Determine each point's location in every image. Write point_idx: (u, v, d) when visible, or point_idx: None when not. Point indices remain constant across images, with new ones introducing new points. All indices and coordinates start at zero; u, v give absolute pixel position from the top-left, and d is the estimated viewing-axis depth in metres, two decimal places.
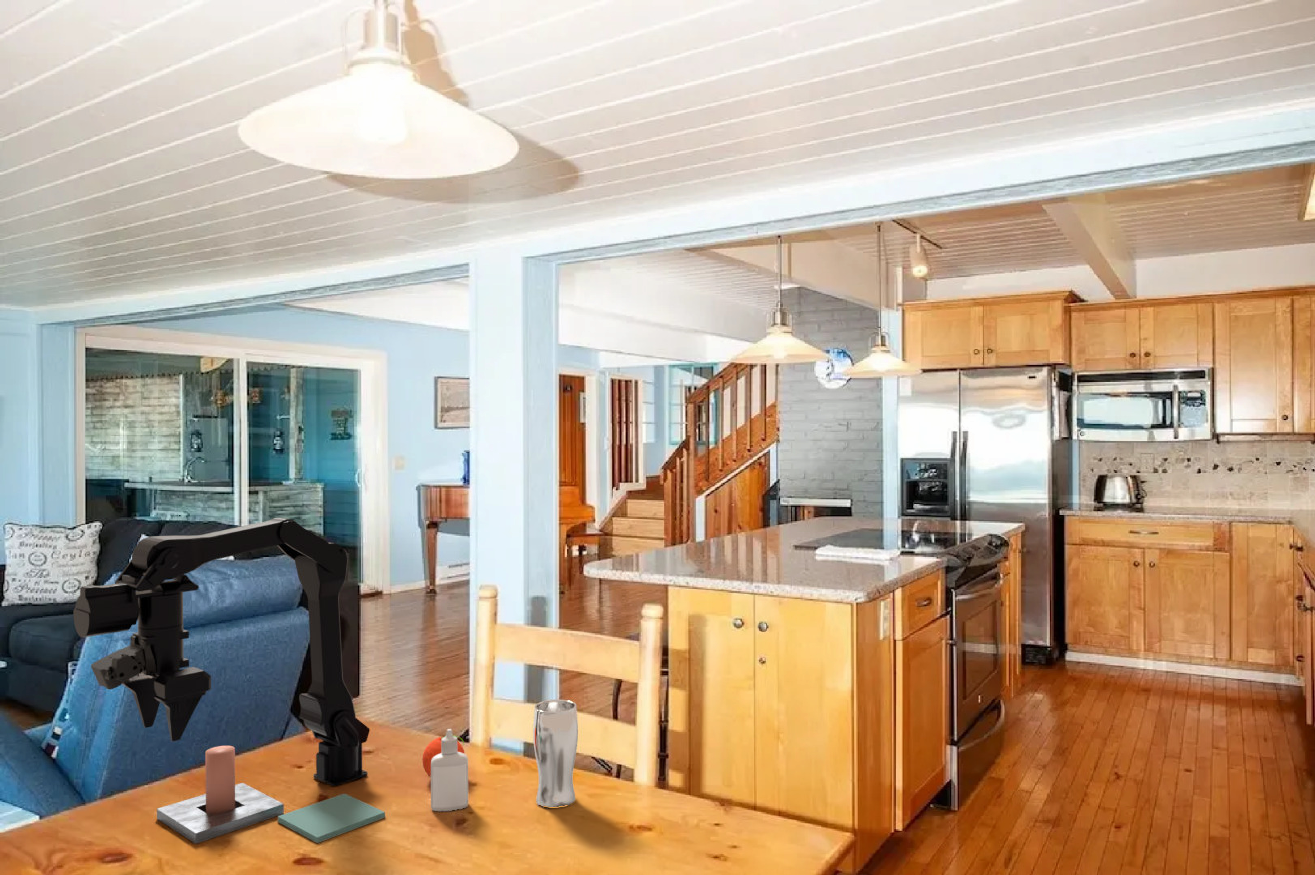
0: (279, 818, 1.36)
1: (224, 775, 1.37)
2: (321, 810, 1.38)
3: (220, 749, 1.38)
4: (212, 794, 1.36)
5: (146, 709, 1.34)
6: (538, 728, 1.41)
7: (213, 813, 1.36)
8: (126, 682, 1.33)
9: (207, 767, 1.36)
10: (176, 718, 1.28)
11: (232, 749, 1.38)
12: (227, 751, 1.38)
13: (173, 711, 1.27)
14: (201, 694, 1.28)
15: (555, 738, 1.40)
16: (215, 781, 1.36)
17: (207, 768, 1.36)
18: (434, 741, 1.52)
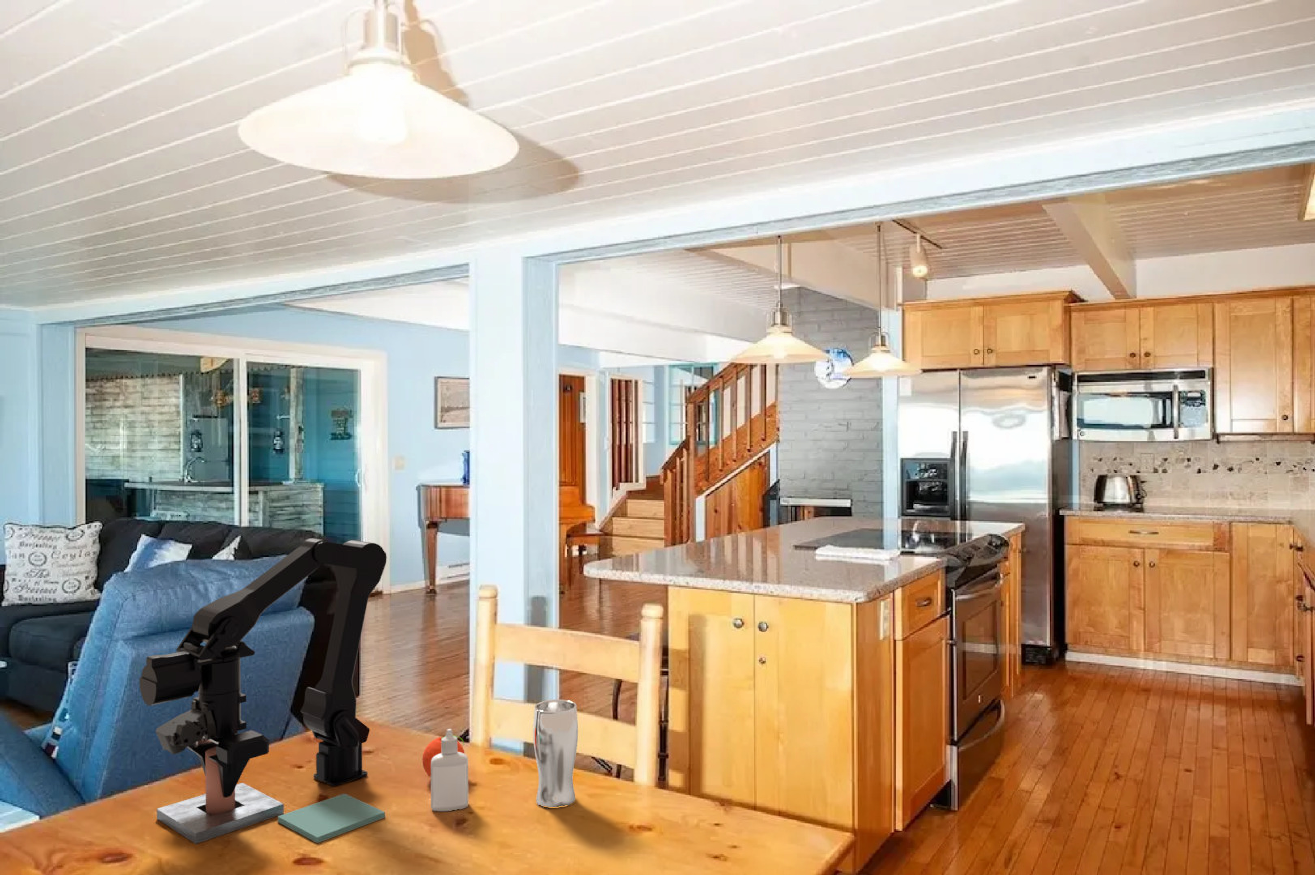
0: (279, 818, 1.36)
1: None
2: (321, 810, 1.38)
3: None
4: (211, 794, 1.36)
5: None
6: (538, 728, 1.41)
7: (213, 813, 1.36)
8: (193, 747, 1.38)
9: (207, 767, 1.36)
10: (228, 776, 1.36)
11: None
12: None
13: (225, 770, 1.35)
14: None
15: (555, 738, 1.40)
16: (215, 781, 1.36)
17: (207, 768, 1.36)
18: (434, 741, 1.52)
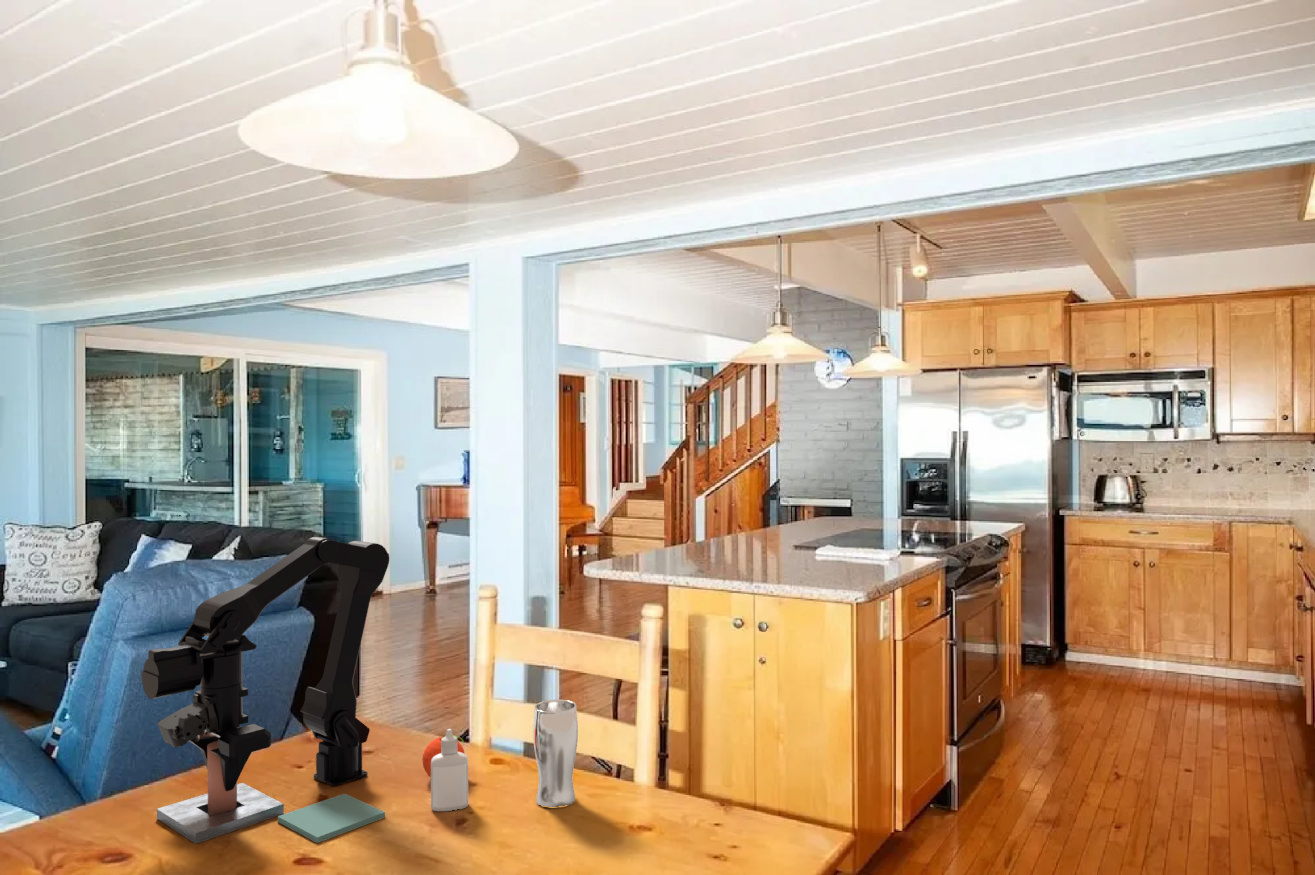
0: (279, 818, 1.36)
1: None
2: (321, 810, 1.38)
3: None
4: (213, 787, 1.36)
5: None
6: (538, 728, 1.41)
7: (215, 806, 1.36)
8: (195, 740, 1.38)
9: (209, 761, 1.37)
10: (230, 769, 1.36)
11: None
12: None
13: (227, 763, 1.35)
14: None
15: (555, 738, 1.40)
16: (217, 775, 1.36)
17: (209, 762, 1.37)
18: (434, 741, 1.52)
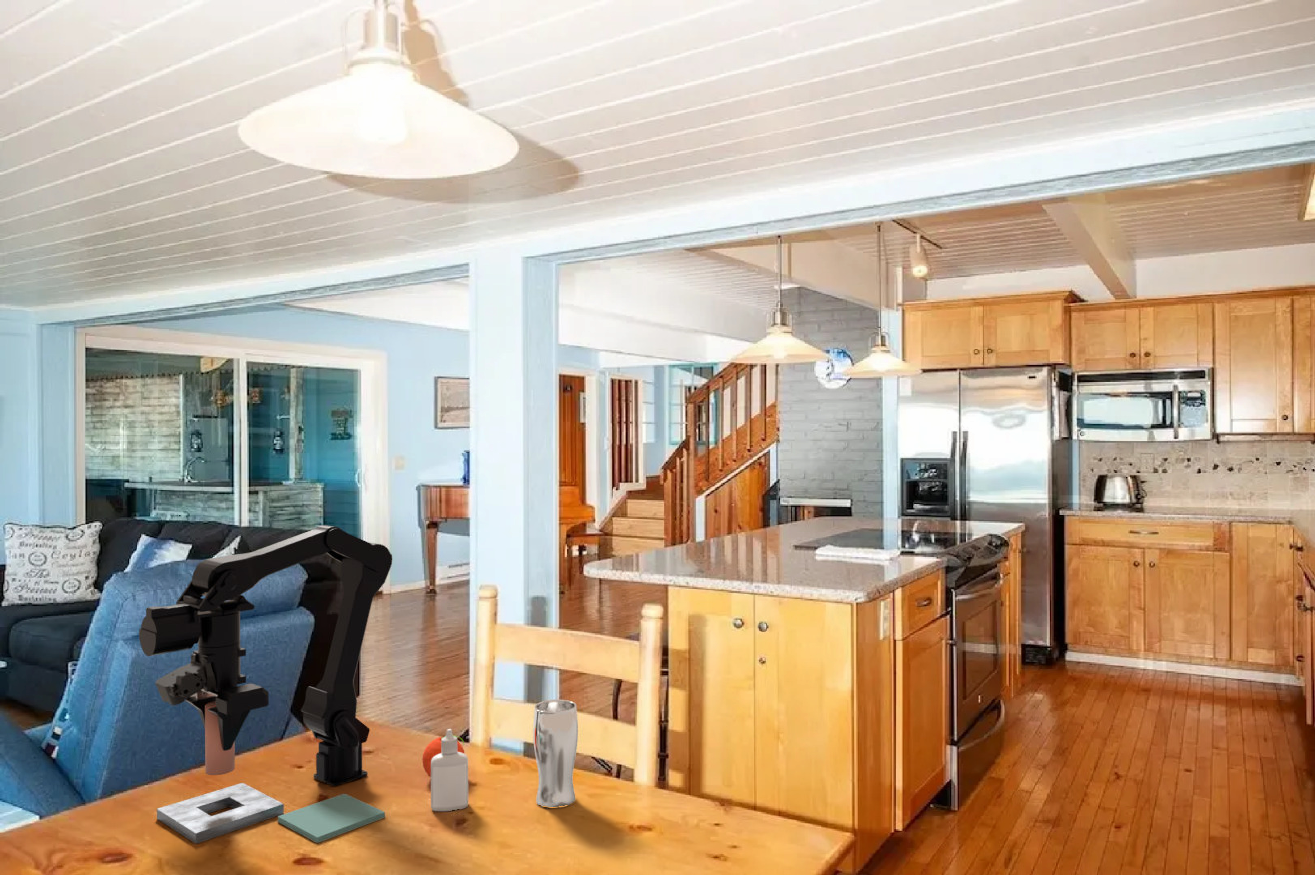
0: (279, 818, 1.36)
1: None
2: (321, 810, 1.38)
3: None
4: (211, 747, 1.36)
5: None
6: (538, 728, 1.41)
7: (213, 766, 1.36)
8: (193, 700, 1.38)
9: (207, 720, 1.36)
10: (228, 729, 1.36)
11: None
12: None
13: (225, 722, 1.35)
14: None
15: (555, 738, 1.40)
16: (214, 734, 1.36)
17: (207, 721, 1.36)
18: (434, 741, 1.52)
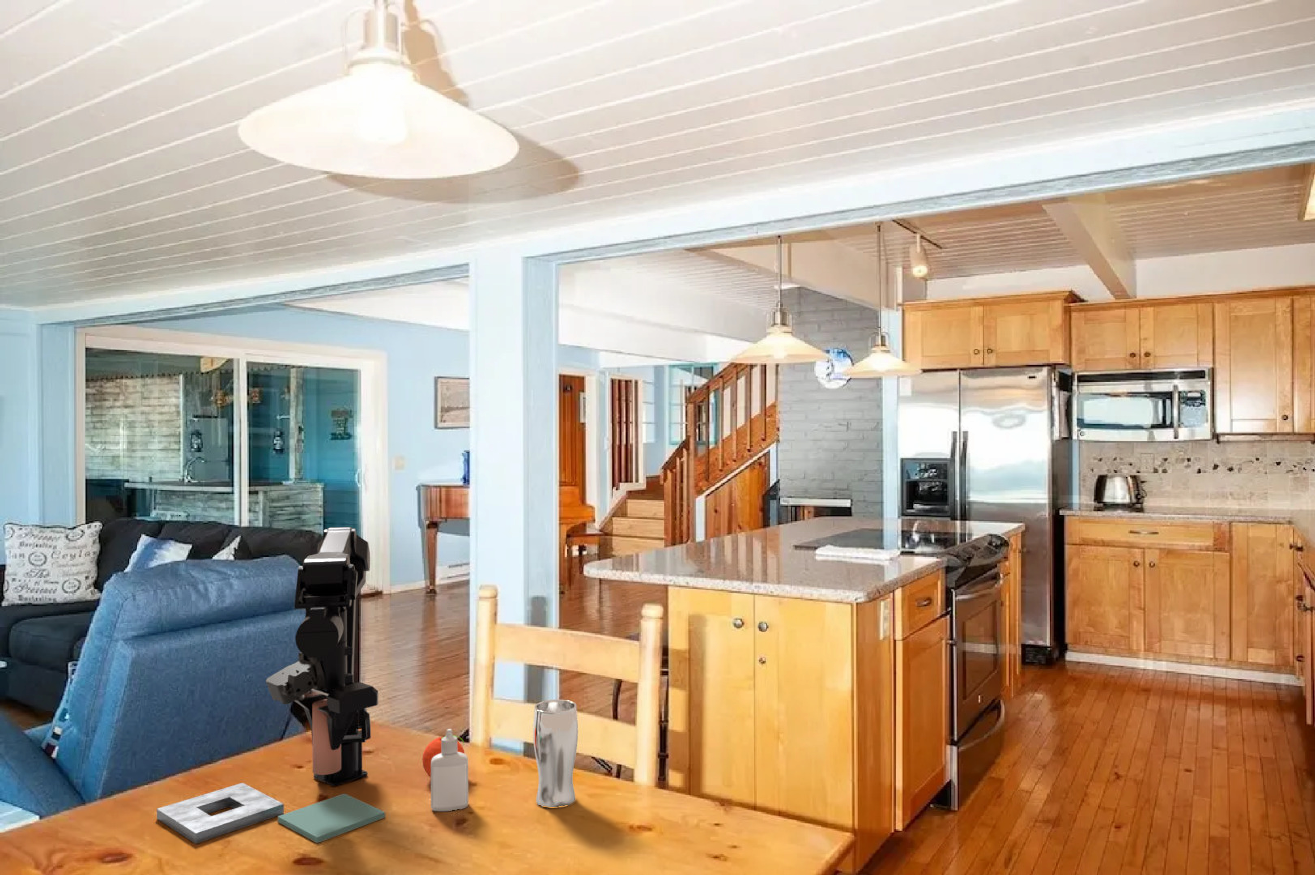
0: (279, 818, 1.36)
1: None
2: (321, 810, 1.38)
3: None
4: (319, 746, 1.35)
5: None
6: (538, 728, 1.41)
7: (321, 765, 1.35)
8: (300, 699, 1.37)
9: (314, 719, 1.35)
10: (336, 728, 1.34)
11: None
12: None
13: (334, 721, 1.34)
14: None
15: (555, 738, 1.40)
16: (322, 733, 1.35)
17: (314, 720, 1.35)
18: (434, 741, 1.52)
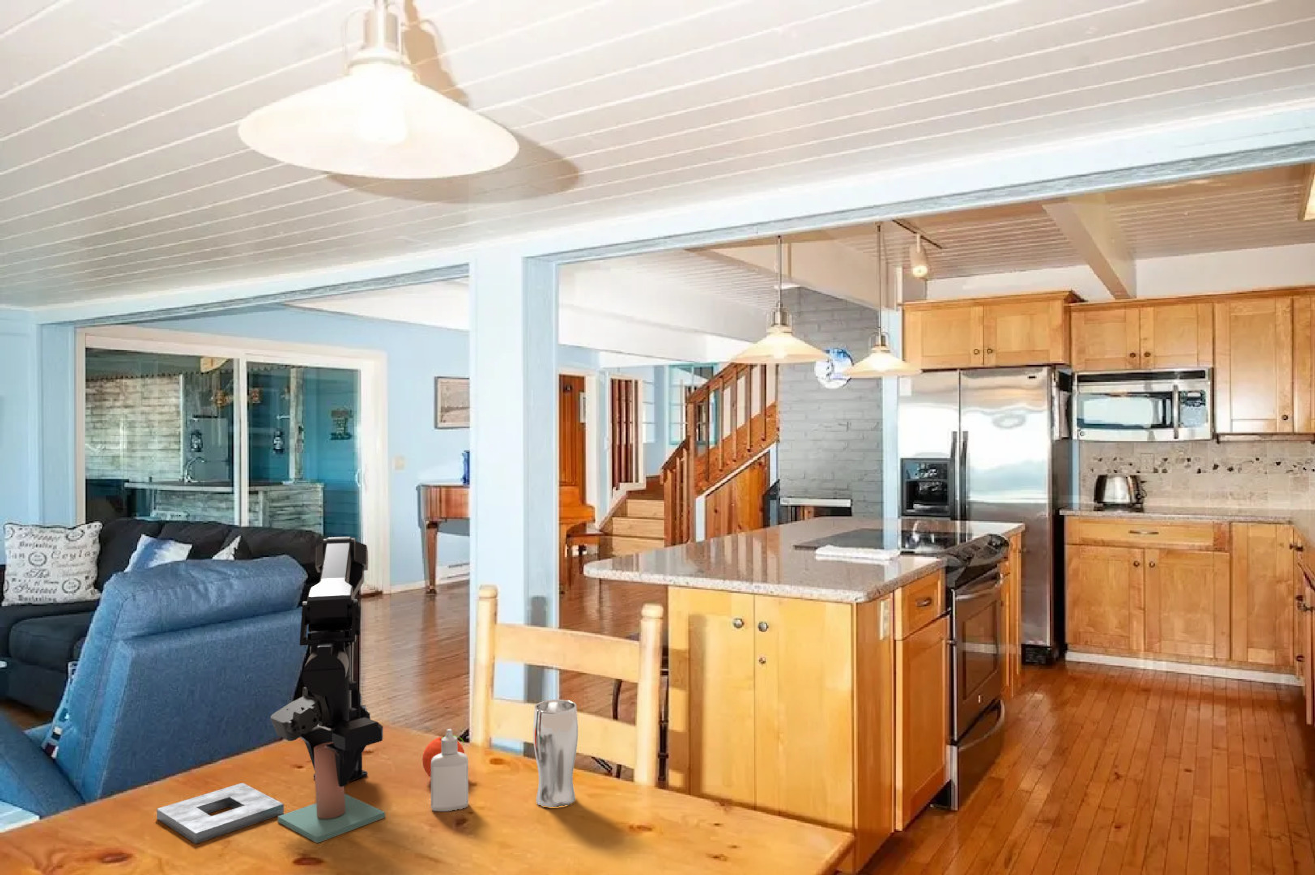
0: (279, 818, 1.36)
1: (334, 770, 1.35)
2: None
3: None
4: (322, 790, 1.35)
5: None
6: (538, 728, 1.41)
7: (325, 809, 1.35)
8: None
9: (317, 763, 1.35)
10: (344, 765, 1.34)
11: None
12: None
13: (342, 758, 1.33)
14: None
15: (555, 738, 1.40)
16: (325, 777, 1.35)
17: (317, 764, 1.35)
18: (434, 741, 1.52)
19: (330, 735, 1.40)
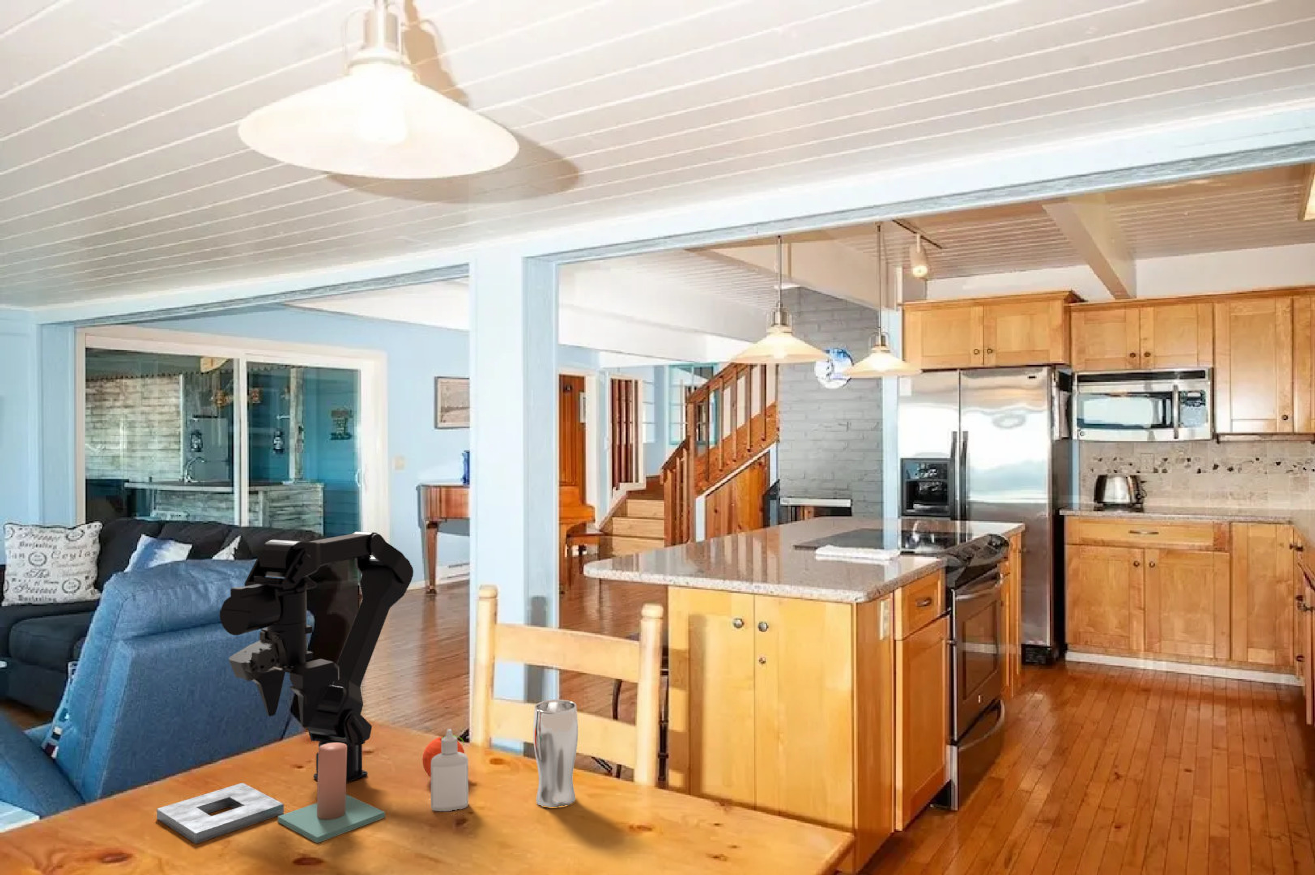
0: (279, 818, 1.36)
1: (337, 772, 1.35)
2: None
3: (333, 746, 1.37)
4: (325, 791, 1.35)
5: (269, 699, 1.45)
6: (538, 728, 1.41)
7: (326, 810, 1.35)
8: None
9: (321, 764, 1.35)
10: (307, 706, 1.39)
11: (344, 746, 1.37)
12: (340, 748, 1.36)
13: (305, 700, 1.38)
14: (330, 683, 1.39)
15: (555, 738, 1.40)
16: (328, 778, 1.35)
17: (320, 765, 1.35)
18: (434, 741, 1.52)
19: (281, 677, 1.47)
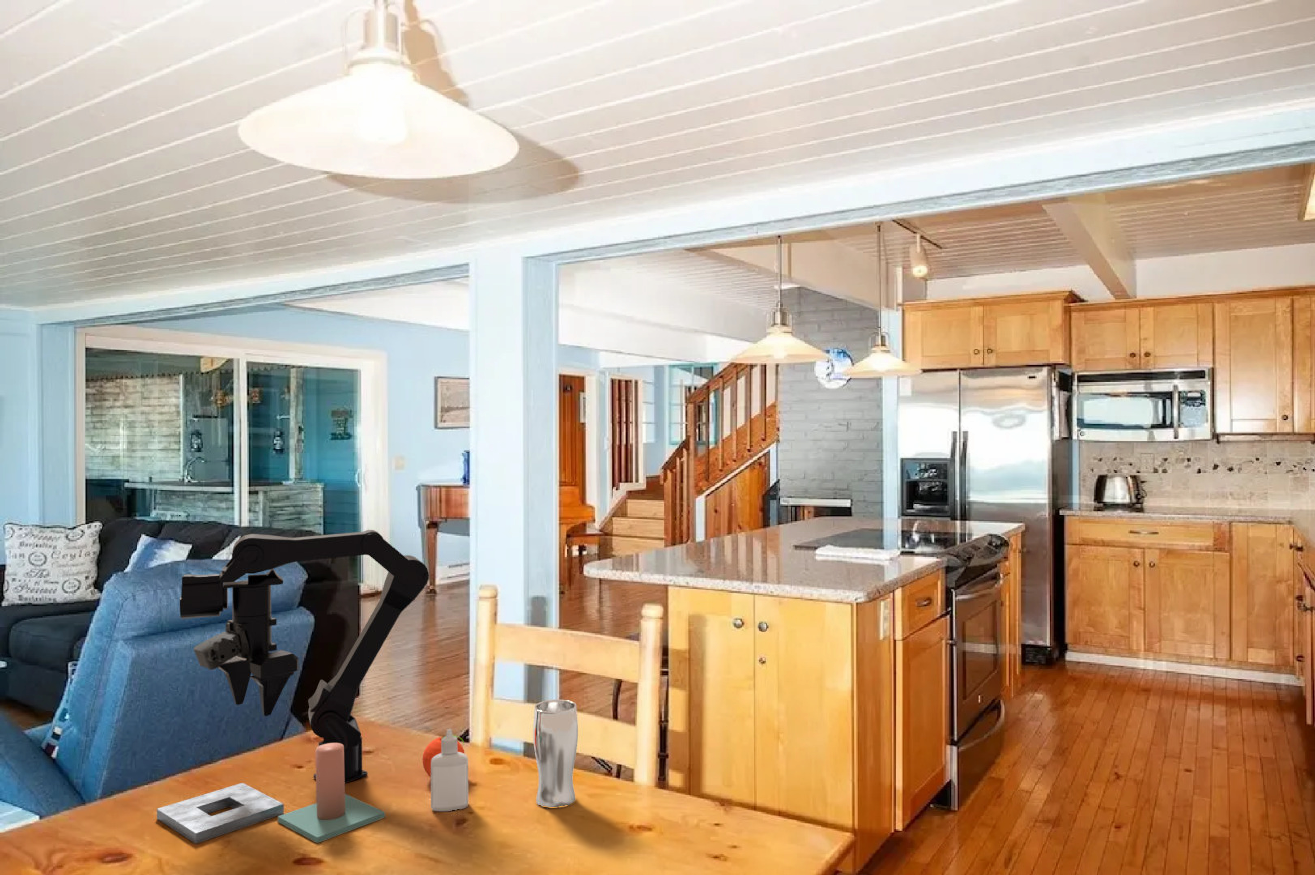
0: (279, 818, 1.36)
1: (336, 772, 1.35)
2: None
3: (329, 747, 1.37)
4: (324, 792, 1.35)
5: (237, 688, 1.51)
6: (538, 728, 1.41)
7: (325, 811, 1.35)
8: (220, 664, 1.49)
9: (318, 765, 1.35)
10: (268, 695, 1.44)
11: (341, 746, 1.37)
12: (337, 748, 1.36)
13: (266, 689, 1.43)
14: (290, 674, 1.44)
15: (555, 738, 1.40)
16: (327, 779, 1.35)
17: (318, 766, 1.35)
18: (434, 741, 1.52)
19: (249, 668, 1.53)
